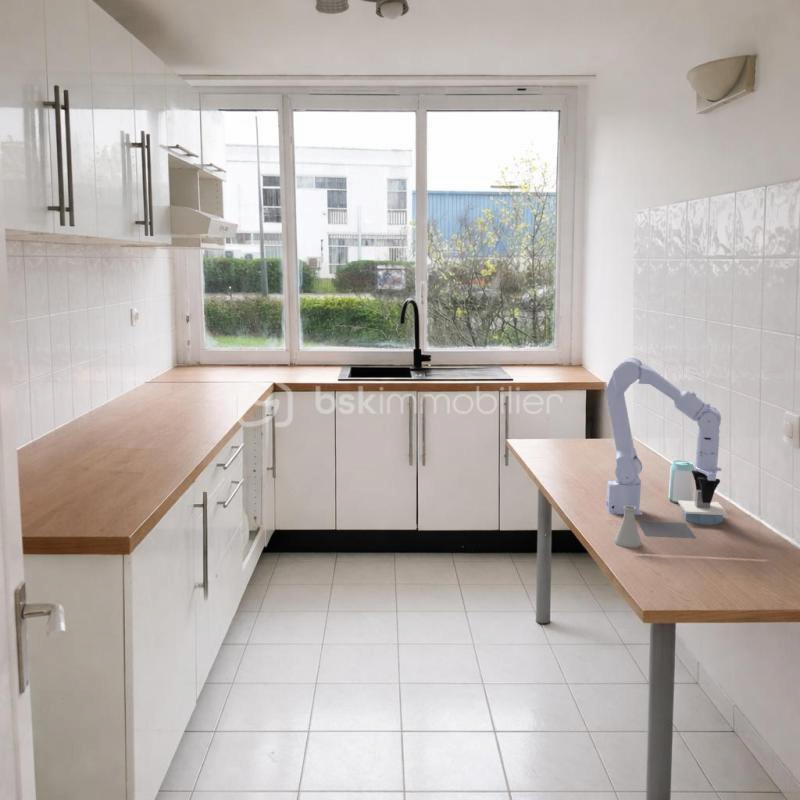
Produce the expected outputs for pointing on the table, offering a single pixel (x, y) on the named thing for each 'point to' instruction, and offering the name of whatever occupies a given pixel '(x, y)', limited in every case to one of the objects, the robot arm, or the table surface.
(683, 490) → the can
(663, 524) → the mat
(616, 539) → the flask
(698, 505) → the lid
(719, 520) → the bowl
